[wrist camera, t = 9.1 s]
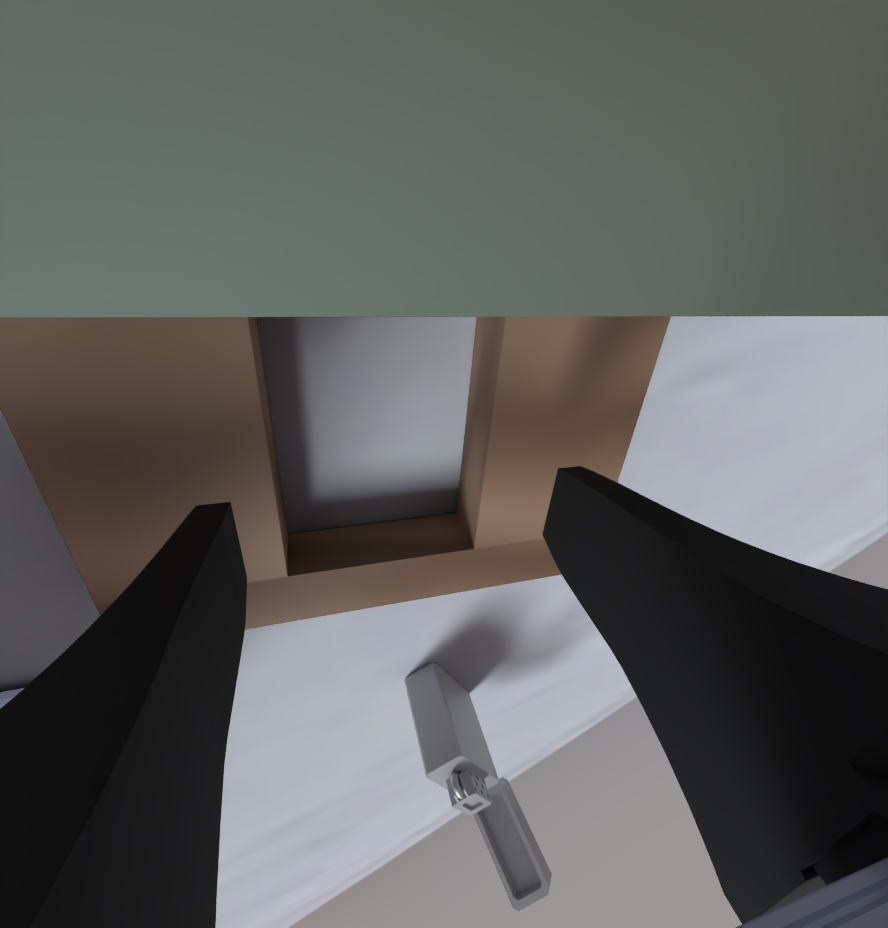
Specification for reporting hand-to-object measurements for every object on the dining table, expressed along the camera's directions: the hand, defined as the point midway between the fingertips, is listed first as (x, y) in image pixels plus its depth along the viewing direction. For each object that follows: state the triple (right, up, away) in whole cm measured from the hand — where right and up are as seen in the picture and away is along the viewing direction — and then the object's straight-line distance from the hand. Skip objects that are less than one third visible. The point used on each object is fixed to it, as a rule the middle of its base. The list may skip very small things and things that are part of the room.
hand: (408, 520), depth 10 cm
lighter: (+1, -11, +14) cm, 17 cm away
